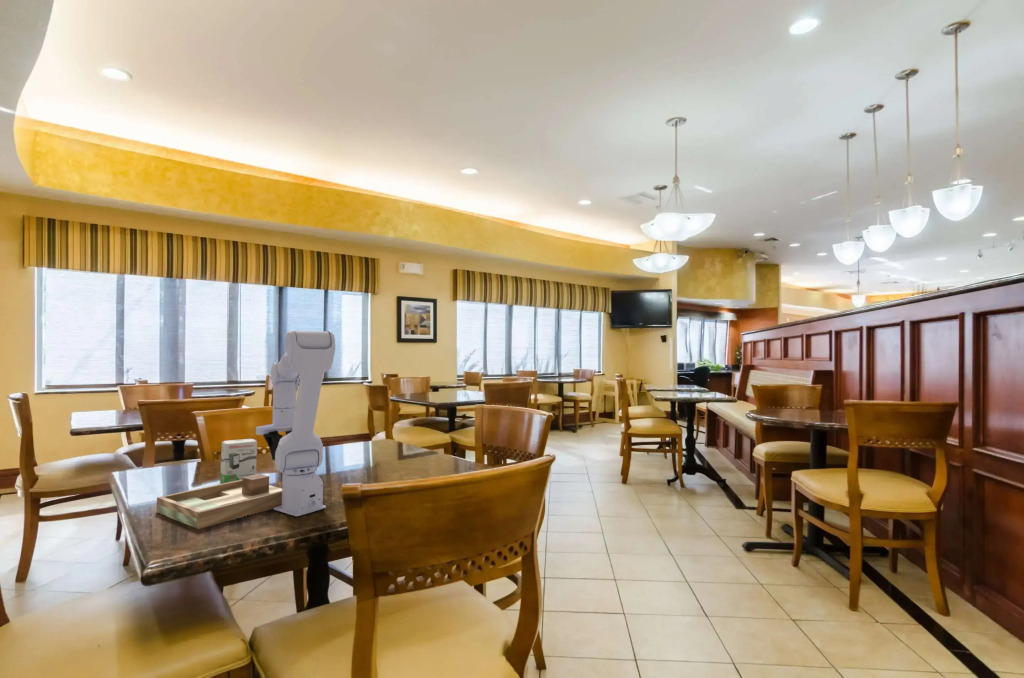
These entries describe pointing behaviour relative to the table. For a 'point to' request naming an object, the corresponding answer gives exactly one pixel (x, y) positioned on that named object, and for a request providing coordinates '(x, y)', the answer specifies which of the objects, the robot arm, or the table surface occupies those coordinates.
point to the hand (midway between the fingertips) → (283, 458)
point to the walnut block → (255, 484)
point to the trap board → (216, 504)
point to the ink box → (238, 459)
